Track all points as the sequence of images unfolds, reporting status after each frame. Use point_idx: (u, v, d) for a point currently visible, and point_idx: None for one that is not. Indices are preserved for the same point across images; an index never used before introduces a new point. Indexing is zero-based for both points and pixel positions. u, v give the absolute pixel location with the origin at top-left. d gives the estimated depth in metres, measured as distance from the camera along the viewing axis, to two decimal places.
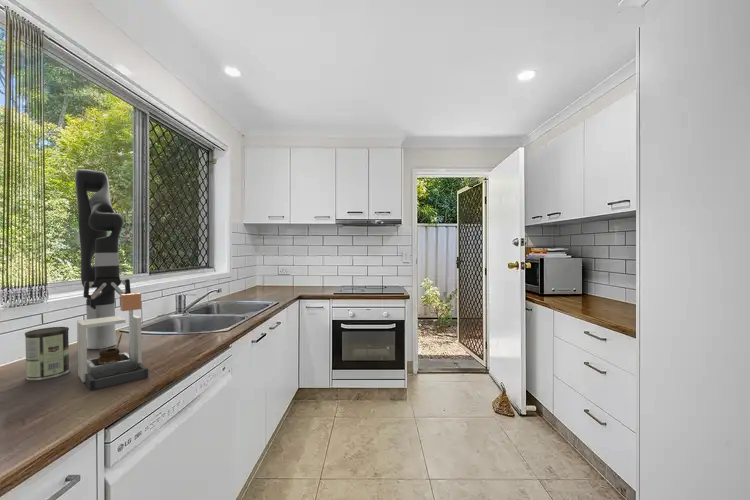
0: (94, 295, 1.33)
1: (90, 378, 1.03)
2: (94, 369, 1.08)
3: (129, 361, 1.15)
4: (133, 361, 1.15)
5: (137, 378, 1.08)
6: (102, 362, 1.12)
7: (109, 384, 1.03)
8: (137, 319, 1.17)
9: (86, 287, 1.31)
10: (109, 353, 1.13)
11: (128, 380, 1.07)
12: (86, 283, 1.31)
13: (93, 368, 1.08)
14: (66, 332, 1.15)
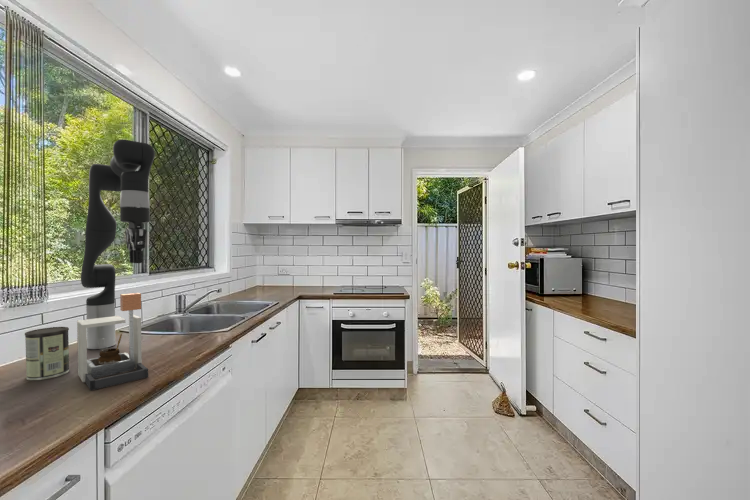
0: None
1: (90, 378, 1.03)
2: (94, 369, 1.08)
3: (129, 361, 1.15)
4: (133, 361, 1.15)
5: (137, 378, 1.08)
6: (102, 362, 1.12)
7: (109, 384, 1.03)
8: (137, 319, 1.17)
9: None
10: (110, 353, 1.13)
11: (128, 380, 1.07)
12: (145, 231, 1.07)
13: (93, 368, 1.08)
14: (66, 332, 1.15)
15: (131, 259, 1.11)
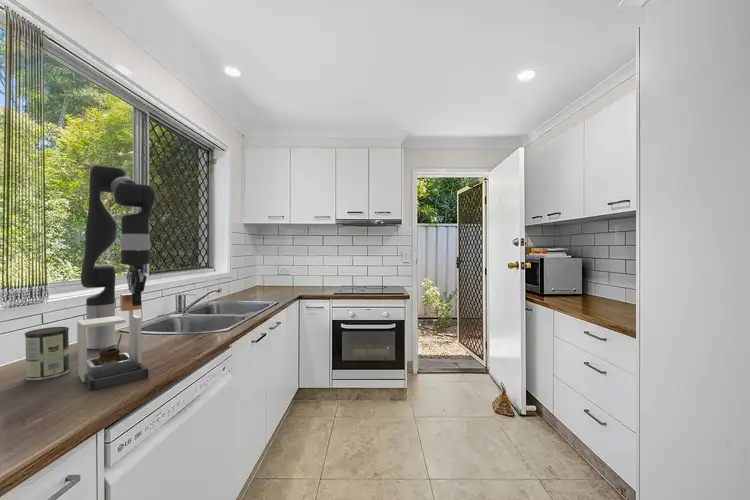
0: None
1: (90, 378, 1.03)
2: (94, 369, 1.08)
3: (129, 361, 1.15)
4: (133, 361, 1.15)
5: (137, 378, 1.08)
6: (102, 362, 1.12)
7: (109, 384, 1.03)
8: (137, 319, 1.17)
9: None
10: (109, 353, 1.13)
11: (128, 380, 1.07)
12: None
13: (93, 368, 1.08)
14: (66, 332, 1.15)
15: None
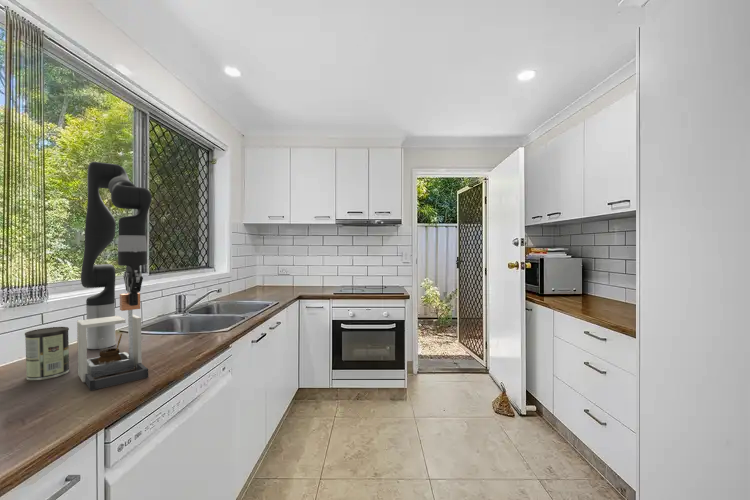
0: None
1: (90, 378, 1.03)
2: (93, 368, 1.09)
3: (128, 360, 1.15)
4: (132, 360, 1.16)
5: (137, 378, 1.08)
6: (102, 362, 1.12)
7: (109, 384, 1.03)
8: (137, 319, 1.17)
9: None
10: (110, 353, 1.13)
11: (128, 380, 1.07)
12: None
13: (92, 367, 1.09)
14: (66, 332, 1.15)
15: None
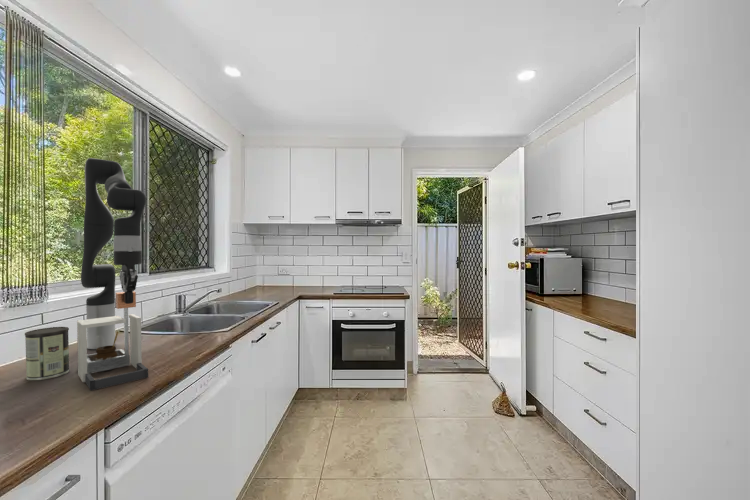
0: None
1: (90, 378, 1.03)
2: (90, 364, 1.13)
3: (124, 357, 1.19)
4: (128, 357, 1.20)
5: (137, 378, 1.08)
6: (99, 358, 1.16)
7: (109, 384, 1.03)
8: (137, 319, 1.17)
9: None
10: (106, 350, 1.17)
11: (128, 380, 1.07)
12: None
13: (89, 363, 1.13)
14: (66, 332, 1.15)
15: None
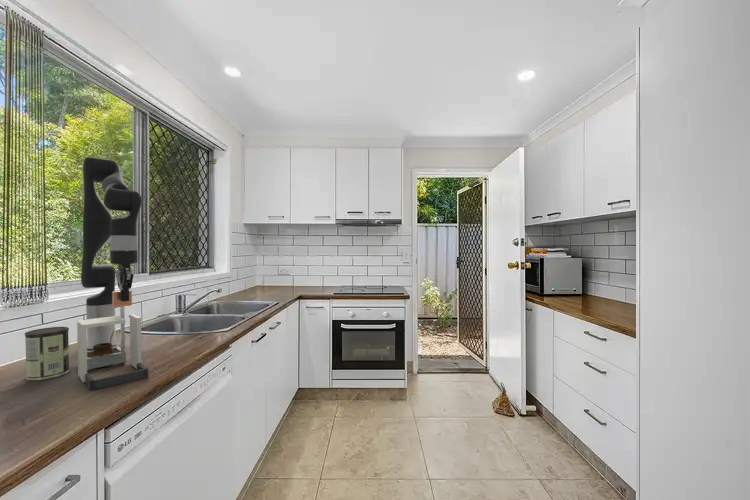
0: None
1: (90, 378, 1.03)
2: (87, 361, 1.16)
3: (120, 354, 1.23)
4: (124, 354, 1.24)
5: (137, 378, 1.08)
6: (96, 355, 1.19)
7: (109, 384, 1.03)
8: (137, 319, 1.17)
9: None
10: (103, 347, 1.20)
11: (128, 380, 1.07)
12: None
13: None
14: (66, 332, 1.15)
15: None
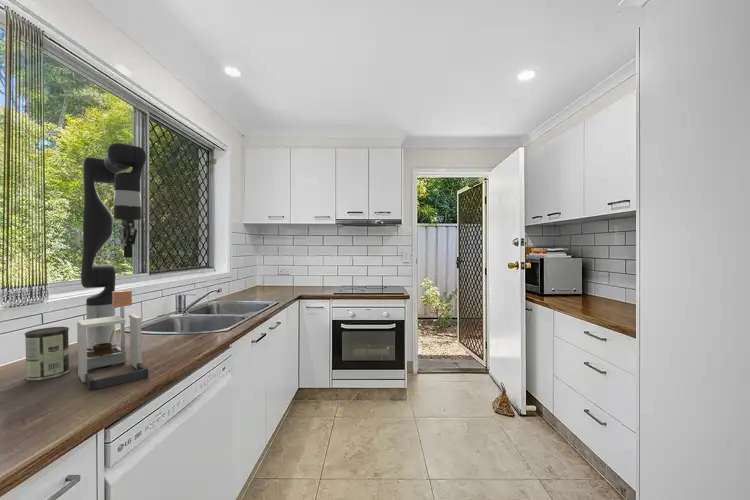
0: None
1: (90, 378, 1.03)
2: (87, 361, 1.16)
3: (120, 354, 1.23)
4: (124, 354, 1.24)
5: (137, 378, 1.08)
6: (96, 355, 1.20)
7: (109, 384, 1.03)
8: (137, 319, 1.17)
9: None
10: (103, 347, 1.20)
11: (128, 380, 1.07)
12: (136, 231, 1.17)
13: None
14: (66, 332, 1.15)
15: None
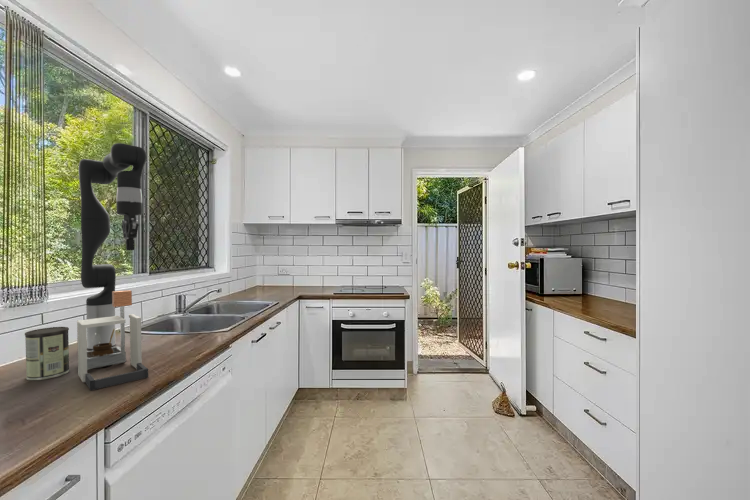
0: None
1: (90, 378, 1.03)
2: (87, 361, 1.16)
3: (120, 354, 1.23)
4: (124, 354, 1.24)
5: (137, 378, 1.08)
6: (96, 355, 1.20)
7: (109, 384, 1.03)
8: (137, 319, 1.17)
9: None
10: (103, 347, 1.20)
11: (128, 380, 1.07)
12: (138, 225, 1.25)
13: None
14: (66, 332, 1.15)
15: None
